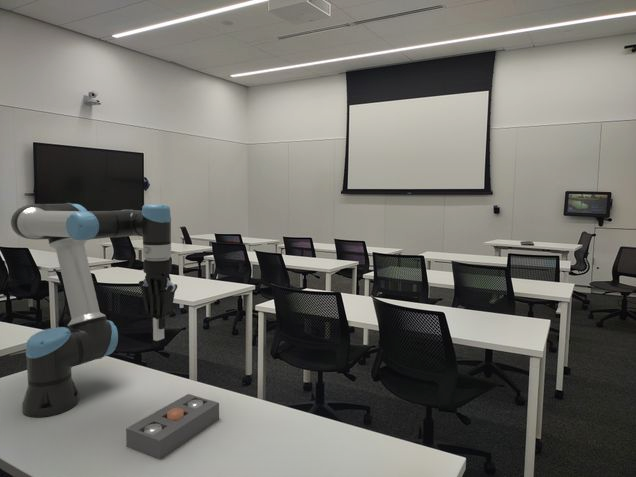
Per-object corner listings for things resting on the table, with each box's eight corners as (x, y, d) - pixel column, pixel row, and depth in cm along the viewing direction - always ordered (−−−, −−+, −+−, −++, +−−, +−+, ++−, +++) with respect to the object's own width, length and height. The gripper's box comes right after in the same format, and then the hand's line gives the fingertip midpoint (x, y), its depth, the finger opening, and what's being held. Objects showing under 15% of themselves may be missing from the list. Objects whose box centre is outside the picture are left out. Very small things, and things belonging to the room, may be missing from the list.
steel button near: (140, 446, 117) (140, 429, 116) (153, 437, 121) (153, 422, 120) (152, 450, 115) (152, 434, 114) (165, 442, 119) (165, 426, 118)
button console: (126, 446, 118) (126, 428, 117) (188, 409, 138) (188, 393, 137) (159, 459, 112) (159, 440, 112) (219, 418, 133) (219, 402, 132)
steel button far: (184, 418, 131) (184, 404, 131) (195, 412, 135) (194, 398, 135) (196, 422, 129) (195, 407, 129) (206, 416, 133) (206, 401, 133)
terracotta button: (163, 428, 124) (163, 413, 123) (175, 421, 128) (175, 406, 127) (175, 432, 122) (175, 417, 121) (187, 425, 126) (186, 410, 125)
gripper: (130, 258, 126) (132, 339, 129) (164, 262, 120) (165, 347, 123) (151, 255, 133) (152, 332, 135) (184, 259, 127) (185, 339, 130)
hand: (158, 339), depth 129 cm, fingers closed
